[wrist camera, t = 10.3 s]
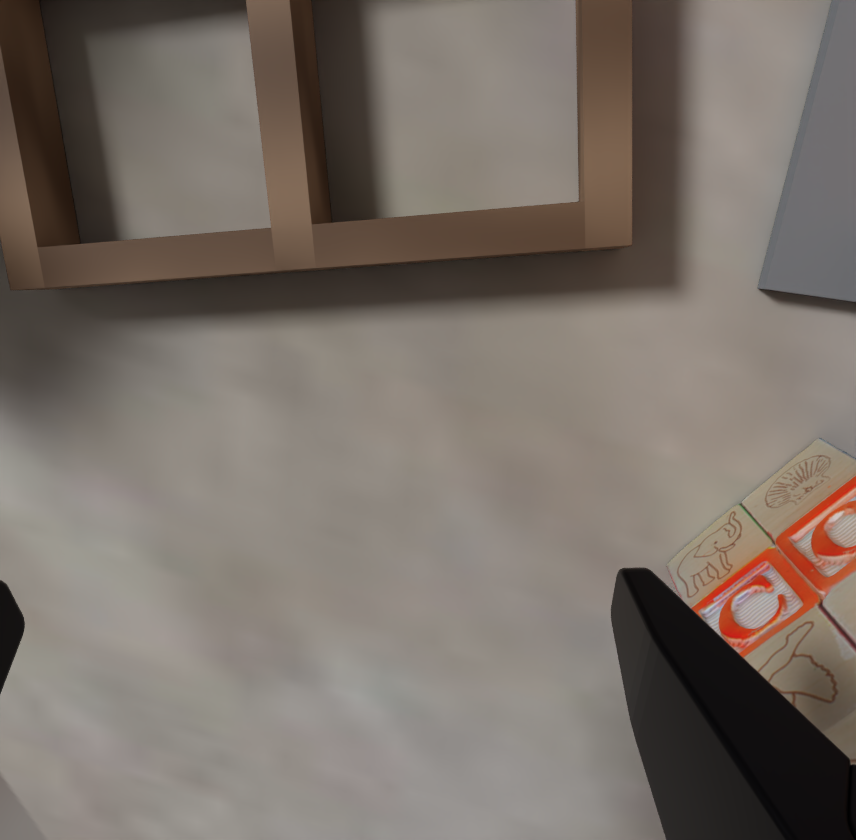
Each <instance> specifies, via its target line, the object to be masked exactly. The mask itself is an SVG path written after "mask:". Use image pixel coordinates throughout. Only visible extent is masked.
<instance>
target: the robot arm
mask: <svg viewBox="0 0 856 840" xmlns="http://www.w3.org/2000/svg"><path fill="white" fill-rule="evenodd" d="M611 621H612V627H613V632H614V638H615V643H616V648H617V653H618V659H619V664H620V669H621V674H622V680H623V685H624V690H625V695H626V701H627V706H628V711H629V716H630V720H631V725H632V728H633V732H634V736H635V739H636V743H637V746H638V749H639V752H640V756H641V759H642V762H643V765H644V769H645V772H646V775H647V778H648V782H649V785H650V788H651V791H652V795H653V798H654V801H655V804H656V807H657V811H658V814H659V817H660V820H661V824H662V827H663V830H664V833H665V837H666V840H856V764H852V765H851V761H850V758H849V757H848V756H847V755H845V754H844V753H843V752H842V751H841V750H840V749H839V748H838V747H837V746H836V745H835V744H834V743H833V742H832V741H831V740H830V739H829V738H827V737H826V736H825V735H824V734H823V733H822V732H821V731H820V730H819V729H818V728H817V727H816V726H815V725H814V724H813V723H812V722H811V721H810V720H808V719H807V718H806V717H805V716H804V715H803V714H802V713H801V712H800V711H799V710H798V709H797V708H796V707H795V706H794V705H793V704H792V703H791V702H789V701H788V700H787V699H786V698H785V697H784V696H783V695H782V694H781V693H780V692H779V691H778V690H777V689H776V688H775V687H774V686H773V685H771V684H770V683H769V682H768V681H767V680H766V679H765V678H764V677H763V676H762V675H761V674H760V673H759V672H758V671H757V670H756V669H755V668H754V667H752V666H751V665H750V664H749V663H748V662H747V661H746V660H745V659H744V658H743V657H742V656H741V655H740V654H739V653H738V652H737V651H736V650H735V649H733V648H732V647H731V646H730V645H729V644H728V643H727V642H726V641H725V640H724V639H723V638H722V637H721V636H720V635H719V634H718V633H717V632H716V631H714V630H713V629H712V628H711V627H710V626H709V625H708V624H707V623H706V622H705V621H704V620H703V619H702V618H701V617H700V616H699V615H698V614H696V613H695V612H694V611H693V610H692V609H691V608H690V607H689V606H688V605H687V604H686V603H685V602H684V601H683V600H682V599H681V598H680V597H679V596H677V595H676V594H675V593H674V592H673V591H672V590H671V589H670V588H669V587H668V586H667V585H666V584H665V583H664V582H663V581H662V580H661V579H660V578H658V577H657V576H656V575H655V574H654V573H653V572H652V571H651V570H649V569H647V568H622V569H620V570H619V572H618V573H617V577H616V583H615V588H614V594H613V599H612V605H611ZM24 627H25V622H24V617H23V614H22V612H21V611H20V609H19V607H18V605H17V603H16V601H15V599H14V597H13V595H12V593H11V591H10V589H9V587H8V586H7V584H6V583H4V582H3V581H1V580H0V694H1V691H2V688H3V686H4V683H5V680H6V678H7V675H8V673H9V670H10V667H11V665H12V662H13V660H14V657H15V654H16V652H17V649H18V647H19V644H20V641H21V639H22V636H23V633H24Z"/></svg>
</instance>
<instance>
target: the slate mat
mask: <svg viewBox="0 0 856 840" xmlns="http://www.w3.org/2000/svg"><path fill="white" fill-rule="evenodd" d="M758 289H765V290H772V291H779V292H786V293H793V294H800V295H807V296H814V297H821V298H828V299H835V300H842V301H849V302H856V0H832V2H831V6H830V10H829V14H828V18H827V22H826V26H825V29H824V33H823V37H822V41H821V45H820V49H819V53H818V57H817V60H816V64H815V68H814V72H813V76H812V80H811V84H810V87H809V91H808V95H807V99H806V103H805V107H804V111H803V114H802V118H801V122H800V126H799V130H798V134H797V138H796V141H795V145H794V149H793V153H792V157H791V161H790V165H789V168H788V172H787V176H786V180H785V184H784V188H783V192H782V195H781V199H780V203H779V207H778V211H777V215H776V219H775V222H774V226H773V230H772V234H771V238H770V242H769V246H768V249H767V253H766V257H765V261H764V265H763V269H762V273H761V276H760V280H759V284H758Z"/></svg>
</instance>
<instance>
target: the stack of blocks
mask: <svg viewBox="0 0 856 840" xmlns="http://www.w3.org/2000/svg"><path fill="white" fill-rule="evenodd" d="M667 568H668V570H669V573H670V576H671V578H672V580H673V583H674V585H675V588H676V590H677V591H678V593H679V595H680V597H681V599H682V600H683V601H684V602H685V603H686V604H687V605H688V606H689V607H690V608H691V609H692V610H693V611H694V612H695V613H696V614H698V615H699V616H700V617H701V618H702V619H703V620H704V621H705V622H706V623H707V624H708V625H709V626H710V627H711V628H712V629H713V630H714V631H716V632H717V633H718V634H719V635H720V636H721V637H722V638H723V639H724V640H725V641H726V642H727V643H728V644H729V645H730V646H731V647H732V648H733V649H735V650H736V651H737V652H738V653H739V654H740V655H741V656H742V657H743V658H744V659H745V660H746V661H747V662H748V663H749V664H750V665H751V666H752V667H754V668H755V669H756V670H757V671H758V672H759V673H760V674H761V675H762V676H763V677H764V678H765V679H766V680H767V681H768V682H769V683H770V684H771V685H773V686H774V687H775V688H776V689H777V690H778V691H779V692H780V693H781V694H782V695H783V696H784V697H785V698H786V699H787V700H788V701H789V702H791V703H792V704H793V705H794V706H795V707H796V708H797V709H798V710H799V711H800V712H801V713H802V714H803V715H804V716H805V717H806V718H807V719H808V720H810V721H811V722H812V723H813V724H814V725H815V726H816V727H817V728H818V729H819V730H820V731H821V732H822V733H823V734H824V735H825V736H826V737H827V738H829V739H830V740H831V741H832V742H833V743H834V744H835V745H836V746H837V747H838V748H839V749H840V750H841V751H842V752H843V753H844V754H845V755H847V756H848V757H849V758H850V761H851V765H852V764H856V458H854V457H852V456H850V455H849V454H847V453H846V452H844V451H842V450H840V449H838V448H836V447H834V446H833V445H831V444H830V443H828V442H826V441H825V440H823V439H821V438H819V439H817V440H815V441H814V442H813V443H812V444H811V445H810V446H809V447H808V448H806V449H805V450H804V451H802V452H801V453H800V454H798V455H797V456H796V457H795V458H793V459H792V460H791V461H790V462H789V463H787V464H786V465H785V466H784V467H783V468H781V469H780V470H779V471H778V472H777V473H775V474H774V475H773V476H772V477H771V478H769V479H768V480H767V481H766V482H765V483H763V484H762V485H761V486H760V487H759V488H757V489H756V490H755V491H754V492H752V493H751V494H750V495H749V496H747V497H746V498H745V499H744V500H743V501H742V502H741V504H738V505H736V506H734V507H733V508H731V509H730V510H729V511H728V512H726V513H725V514H724V515H723V516H722V517H720V518H719V519H718V520H717V521H715V522H714V523H713V524H712V525H711V526H709V527H708V528H707V529H706V530H705V531H704V532H702V533H701V534H700V535H699V536H698V537H697V538H695V539H694V540H693V541H692V542H690V543H689V544H688V545H687V546H686V547H685V548H684V549H683V550H682V551H680V552H679V553H678V554H677V555H676V556H675V557H674V558H673V559H672V560H671V561H670V562H669V563H668V564H667Z"/></svg>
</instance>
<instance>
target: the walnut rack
mask: <svg viewBox="0 0 856 840" xmlns="http://www.w3.org/2000/svg"><path fill="white" fill-rule="evenodd" d="M246 5H247V14H248V23H249V32H250V41H251V50H252V59H253V68H254V77H255V86H256V95H257V104H258V113H259V122H260V131H261V140H262V149H263V158H264V167H265V176H266V185H267V194H268V203H269V212H270V221H271V228H263V229H252V230H240V231H228V232H216V233H204V234H192V235H181V236H169V237H157V238H145V239H133V240H121V241H110V242H98V243H86V244H80V238H79V232H78V226H77V220H76V214H75V209H74V203H73V197H72V191H71V185H70V179H69V173H68V168H67V162H66V156H65V150H64V144H63V138H62V132H61V127H60V121H59V115H58V109H57V103H56V97H55V91H54V86H53V80H52V74H51V68H50V62H49V56H48V50H47V45H46V39H45V33H44V27H43V21H42V15H41V9H40V3H39V0H0V239H1V244H2V249H3V255H4V260H5V265H6V270H7V275H8V280H9V285H10V290H43V289H65V288H79V287H93V286H107V285H121V284H134V283H148V282H162V281H176V280H190V279H204V278H218V277H231V276H245V275H259V274H273V273H287V272H301V271H314V270H328V269H342V268H356V267H370V266H384V265H398V264H411V263H425V262H439V261H453V260H467V259H481V258H494V257H508V256H522V255H536V254H550V253H564V252H578V251H591V250H605V249H619V248H624V247H628V246H631V245H632V0H576V46H577V108H578V170H579V202H571V203H560V204H548V205H536V206H524V207H512V208H500V209H489V210H477V211H465V212H453V213H441V214H429V215H417V216H406V217H394V218H382V219H370V220H358V221H346V222H335V223H332V218H331V207H330V197H329V186H328V175H327V164H326V153H325V142H324V131H323V121H322V110H321V99H320V88H319V77H318V66H317V56H316V45H315V34H314V23H313V12H312V1H311V0H246Z"/></svg>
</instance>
